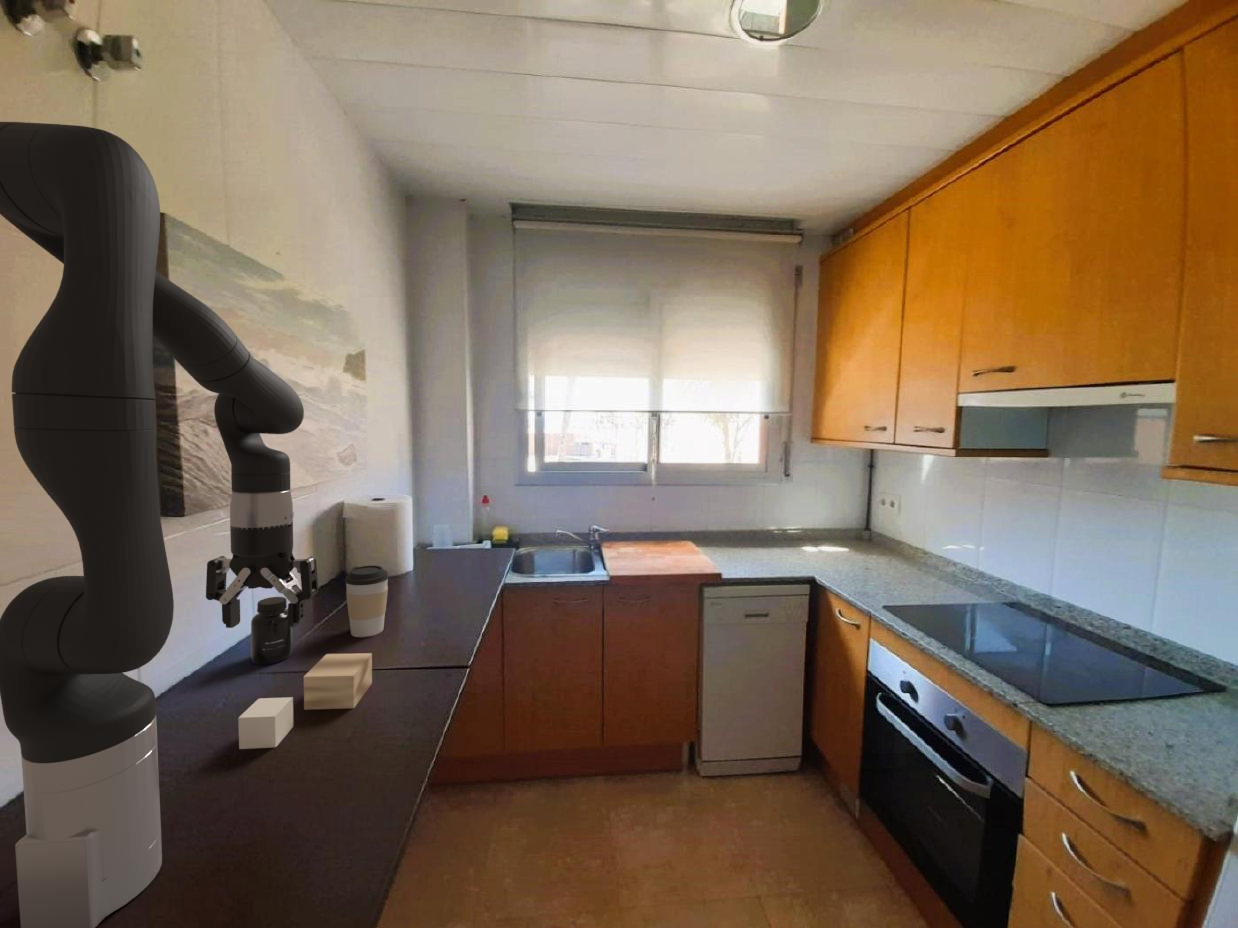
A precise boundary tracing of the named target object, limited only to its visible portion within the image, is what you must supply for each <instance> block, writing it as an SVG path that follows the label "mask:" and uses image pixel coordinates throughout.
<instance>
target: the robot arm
mask: <svg viewBox="0 0 1238 928" xmlns="http://www.w3.org/2000/svg"><path fill="white" fill-rule="evenodd" d="M0 216H2V217H3V218H4V219H5V220H6V221H7V222H9V223H10V224H11V225H12V226H14V227H15V228H16V229H18V231H19V232H21V233H23V234H24V235H25V236H26V237H28V238H29V239H31V241H33V242H34V243H36V245H38V246H39V247H41V248H42V249H44V250H45V251H46V252H48V254H49V255H51V256H53V257H54V258H55V259H56V260H58V261H59V262H61V263H62V264H63V269H62V270H63V271H62V278H61V280H60V284H59V288H58V289H57V292H56V295H55V297H54V299H53V301H52V302H51V304H50V306H49V307H48V309H47V310H46V312H45V314H43V317H41V320H40V321H39V322H38V324H37V325H36V327H35V328H34V330H33V331H32V332H31V334H30V336H29V337H28V339H27V340H26V342H25V344H24V346H23V347H22V348H21V350H20V352H19V355H18V357H17V359H16V361H15V364H14V366H13V370H12V376H11V393H12V394H11V400H12V416H13V419H12V420H13V431H14V439H15V443H16V446H17V449H18V452H19V454H20V457H21V458H22V460H23V461H24V463H25V465H26V467H27V468H28V470H29V471H30V473H31V474H32V476H33V477H34V478H35V479H36V482H38V484H39V485H40V486H41V487H42V489H43V490H44V491H45V492H46V494H47V495H48V496H49V497H50V499H51V500H52V501H53V502H54V504H55V505H56V506H57V507H58V508H59V509H60V511H61V512H62V514H63V516H65V518H66V520H67V521H68V522H69V524H70V526H71V528H72V530H73V532H74V534H75V536H76V540H77V542H78V546H79V550H80V554H81V561H82V572H83V575H62V576H54V577H49V578H46V579H43V580H41V581H40V580H39V581H37V582H35V583H33V584H31V585H29V586H27V587H26V588H24V589H23V590H22V591H21V592H19V593H18V594H17V595H16V596H15V597H14V598H13V599H12V600H11V601H10V602H9V603H8V605H7V606H6V607H5V609H4V611H3V613H2V614H1V616H0V701H1V708H2V715H3V719H4V723H5V726H6V727H7V730H8V731H9V732H10V734H12V736H13V737H15V738H16V740H18V742H19V744H20V745H19V746H20V755H21V766H22V767H21V768H22V769H21V770H22V785H23V787H22V788H23V801H24V803H23V804H24V814H25V815H24V816H25V830H26V834H25V835H24V836H23V837H22V838H20V839H19V840H18V841H17V842H16V843H15V846H14V847H15V849H14V850H15V862H16V864H15V865H16V877H17V892H18V893H17V894H18V906H19V919H20V928H96V927H98V925H99V924H100V923H101V922H102V921H103V920H104V919H105V918H106V917H108V916H109V915H110V914H112V913H113V912H115V911H117V910H118V909H120V908H122V907H123V906H125V905H127V904H128V903H130V902H131V901H132V900H133V899H134V898H136V897H137V896H138V895H139V894H140V893H141V892H143V891H144V890H145V889H146V888H147V887H148V886H149V885H150V884H151V883H152V882H153V880H154V879H155V878H156V876H157V874H158V873H159V871H160V870H161V867H162V865H163V853H162V851H163V850H162V849H163V848H162V847H163V846H162V826H161V825H162V823H161V821H162V819H161V802H160V801H161V800H160V778H159V755H158V751H159V750H158V728H157V707H156V706H157V704H156V703H157V701H156V695H155V693H154V691H153V689H152V688H151V687H150V686H149V685H147V684H145V683H143V682H141V681H139V680H136V679H134V678H133V677H130V676H128V675H126V674H125V673H128V672H132V671H135V670H138V669H140V668H141V667H144V666H145V665H147V664H149V663H150V662H151V661H152V660H153V659H154V658H155V657H156V656H157V655H158V654H159V653H160V652H161V650H162V649H163V647H164V645H166V642H167V640H168V638H169V635H170V634H171V633H170V632H171V628H172V626H173V620H174V608H175V607H174V604H175V603H174V592H173V586H172V580H171V572H170V567H169V562H168V557H167V551H166V545H165V539H164V534H163V527H162V526H163V525H162V519H161V509H160V495H159V494H160V493H159V484H158V483H159V482H158V480H159V479H158V469H157V468H158V466H157V465H158V464H157V436H158V435H157V433H158V431H157V405H156V404H157V403H156V391H155V390H156V389H155V381H154V376H155V375H154V363H153V362H154V360H153V359H154V355H153V353H154V352H153V350H154V348H153V347H154V345H153V343H154V342H153V341H154V340H155V341H157V343H158V344H159V345H161V347H163V349H165V350H166V352H167V353H169V355H170V356H171V357H172V358H173V359H174V360H175V361H176V362H177V363H178V364H179V365H180V367H182V369H184V370H185V371H186V373H187V374H189V376H191V377H192V378H193V379H194V381H195V382H197V383H198V384H199V385H200V386H201V387H202V388H204V389H205V390H207V391H210V392H212V393H214V394H217V397H216V398H215V402H214V407H213V408H214V409H213V413H214V420H215V422H216V427H217V429H218V431H219V434H220V436H221V439H222V442H223V445H224V449H225V451H226V454H227V456H228V459H229V462H230V465H231V470H230V472H231V474H230V475H231V478H230V480H231V481H230V482H231V498H230V502H229V503H230V504H229V505H230V506H229V526H230V527H229V528H230V529H229V530H230V531H229V533H230V552H231V554H232V558H227V557H226V556H224V555H221V556H218V557H215V558H214V559H211V560H209V561H207V564H206V579H205V581H206V584H205V598H206V599H207V600H208V601H217V602H219V603H220V604H221V618H222V619H221V621H222V623H223V625H225V628H227V629H231V628H232V629H233V628H234V627H237V626H239V624H240V623H241V600H240V599H238V598H239V596H240V595H241V594H242V593H243V592H244V591H245V589H247V588H248V589H249V590H250V589H252V590H253V589H257V588H262V589H265V590H266V589H273V588H274V589H275V590H276V591H277V592H278V593H279V594H280V595H281V594H282V595H283V597H284V598H286V600H287V601H289V603H288V604H287V610H288V626H289V627H292V628H296V627H297V626H298V625H299V624H300V623H301V622H302V620H304V617H305V600H310V599H311V598H312V597H313V596H315V595H317V594H318V592H319V578H318V568H317V567H318V565H317V558H316V557H315V556H309V557H307V558H295V557H294V554H293V549H294V513H295V512H294V511H293V510H294V505H293V498H292V491H291V462H290V461H291V460H290V457H289V455H288V454H287V453H285V452H284V451H280V450H277V449H274V448H270V447H268V446H267V445H266V444H265V442H264V440H263V438H262V436H261V434H263V435H264V434H265V435H285V434H289V433H292V432H294V431H296V430H297V429H298V428H299V427H300V426H301V425H302V422H303V420H304V416H305V412H304V411H305V410H304V406H303V402H302V400H301V398H300V395H299V394H298V393H297V392H296V391H295V389H294V388H293V387H292V386H291V385H290V384H289V383H287V382H286V381H285V380H284V379H282V378H281V377H280V376H279V375H277V374H276V373H275V372H273V371H272V370H271V369H269V367H267V366H266V365H265V364H263V363H262V362H260V361H259V360H257V359H256V358H255V357H254V356H252V354H251V352H250V351H249V350H248V348H247V347H246V346H245V345H244V344H243V342H242V340H240V338H239V337H238V336H237V334H236V333H235V332H234V330H233V329H232V328H231V327H230V326H229V325H228V324H227V322H226V321H225V320H223V318H221V316H219V315H218V313H216V312H215V311H214V310H213V309H212V308H210V307H209V306H208V305H206V304H205V303H204V302H202V301H201V300H199V299H198V298H197V297H195V296H193V295H192V294H190V293H189V292H187V291H186V290H185V289H183V288H181V287H180V286H178V284H175V283H174V282H172V281H171V280H170V279H168V278H167V277H165V276H164V275H162V274H161V273H160V272H158V271H157V263H158V262H157V260H158V253H159V245H160V244H159V242H160V234H161V232H160V231H161V206H160V200H159V193H158V190H157V185H156V183H155V180H154V177H153V175H152V173H151V170H150V168H149V167H148V166H147V163H146V162H145V160H144V159H143V158H142V157H141V155H140V154H139V153H138V152H137V151H136V150H135V149H134V148H133V146H131V144H129V143H128V142H127V141H125V140H124V139H122V138H121V137H120V136H118V135H116V134H114V133H111V132H110V131H107V130H105V129H102V128H101V129H100V128H96V127H91V126H85V125H76V124H75V125H74V124H61V123H44V122H43V123H42V122H23V121H0ZM294 568H295V569H296V572H297V573H298V574H300V584H299V580H298V579H297V577H296V576H295V575H294V574H293V573H292V571H293V569H294ZM230 570H231V572H232V573H233V574H234V575H235V576H236V577H235V578H234V579H233V580H232V581H231V583H230V584H229V585H228V587H227V573H228V572H229V571H230Z"/></svg>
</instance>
